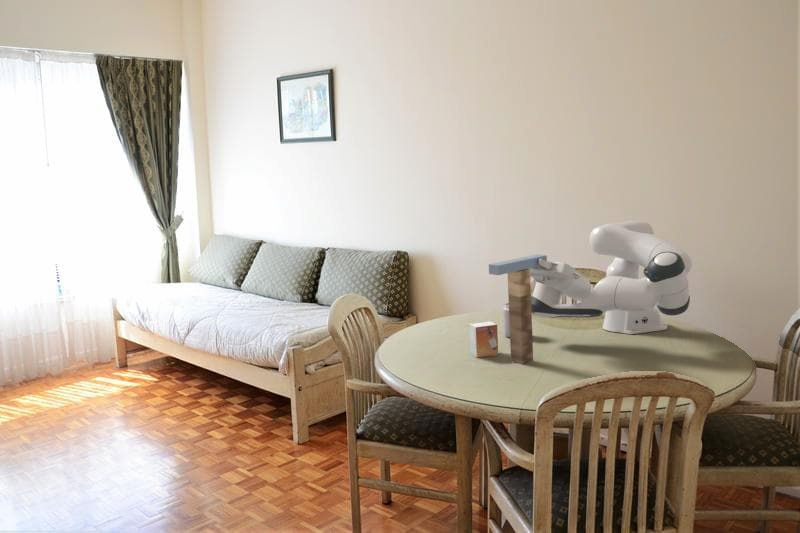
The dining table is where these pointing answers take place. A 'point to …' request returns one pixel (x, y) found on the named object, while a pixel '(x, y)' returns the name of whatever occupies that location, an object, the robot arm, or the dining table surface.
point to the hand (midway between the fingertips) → (532, 260)
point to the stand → (520, 316)
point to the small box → (484, 339)
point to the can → (506, 320)
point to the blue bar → (515, 264)
